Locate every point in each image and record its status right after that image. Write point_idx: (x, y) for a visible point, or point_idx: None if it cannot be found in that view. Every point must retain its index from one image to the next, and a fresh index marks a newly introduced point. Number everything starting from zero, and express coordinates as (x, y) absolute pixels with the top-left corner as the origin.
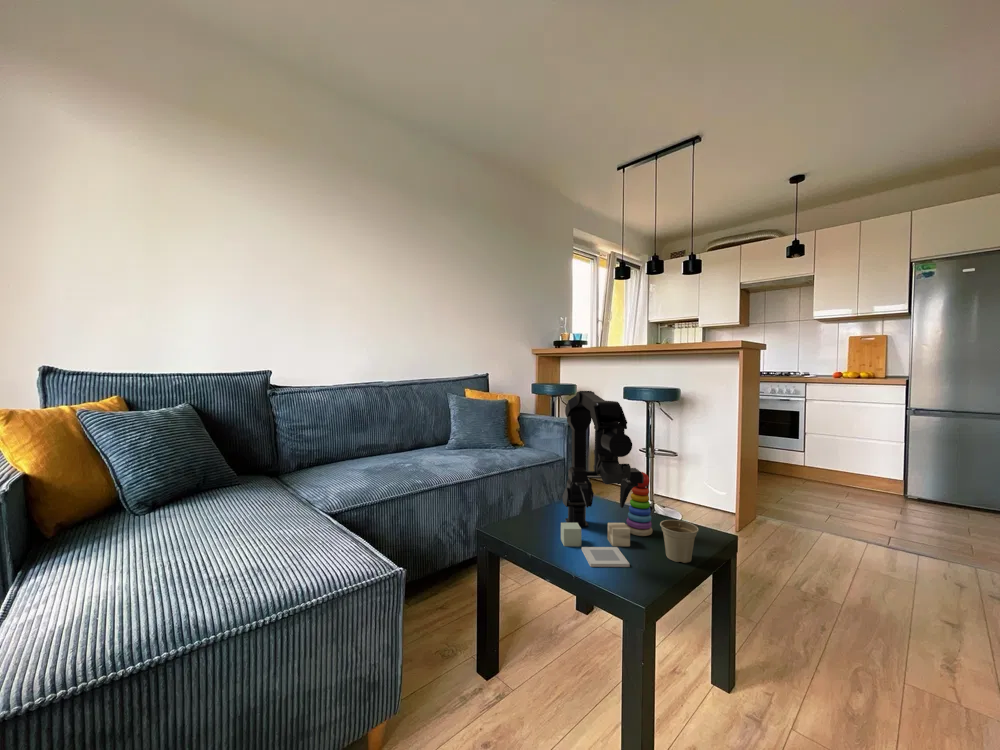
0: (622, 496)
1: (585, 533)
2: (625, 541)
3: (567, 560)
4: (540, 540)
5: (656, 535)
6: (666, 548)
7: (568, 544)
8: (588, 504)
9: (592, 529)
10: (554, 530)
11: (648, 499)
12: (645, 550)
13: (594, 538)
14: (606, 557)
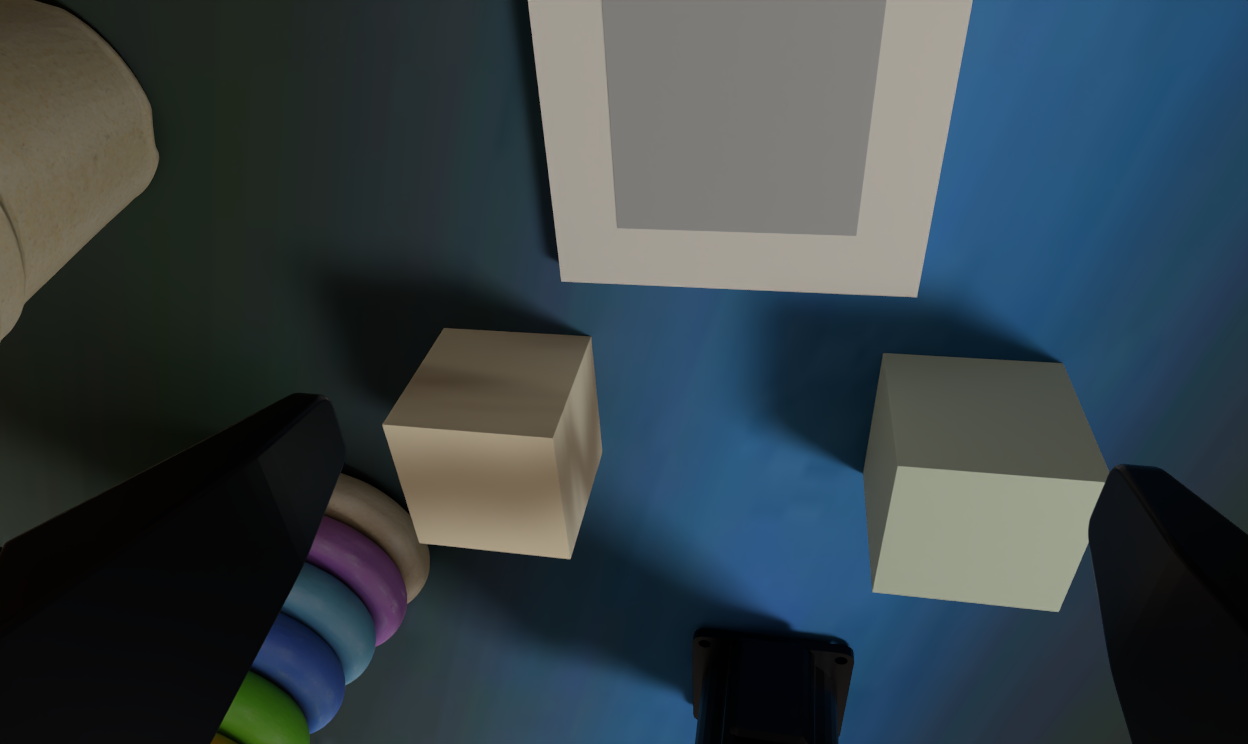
0: (155, 594)
1: (754, 549)
2: (467, 354)
3: (1203, 43)
4: (1245, 481)
5: None
6: (98, 128)
7: (1018, 370)
8: (1154, 509)
9: (676, 595)
10: (1000, 616)
11: None
12: (326, 251)
13: (707, 472)
14: (734, 51)
